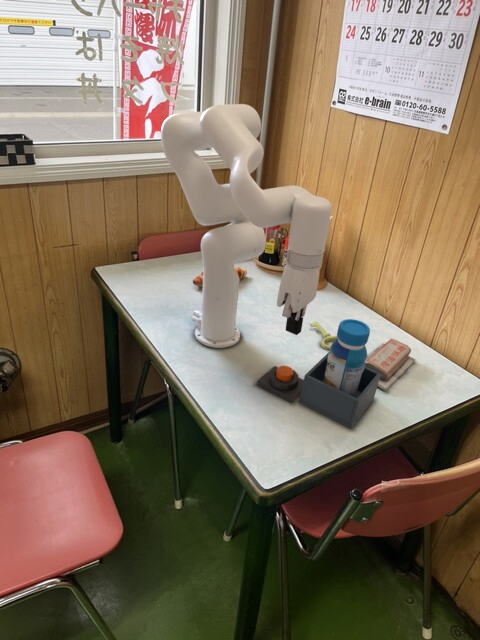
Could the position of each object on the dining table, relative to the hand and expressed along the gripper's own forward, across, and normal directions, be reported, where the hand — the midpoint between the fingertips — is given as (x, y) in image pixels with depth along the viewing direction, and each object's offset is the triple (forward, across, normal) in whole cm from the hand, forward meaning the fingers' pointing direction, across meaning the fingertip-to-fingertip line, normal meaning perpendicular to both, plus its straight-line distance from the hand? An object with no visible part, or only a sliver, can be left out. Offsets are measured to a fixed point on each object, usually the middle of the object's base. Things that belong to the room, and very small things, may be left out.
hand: (293, 331), depth 109 cm
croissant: (+16, -33, -45) cm, 58 cm away
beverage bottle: (+15, -4, +12) cm, 20 cm away
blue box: (+16, -4, +12) cm, 21 cm away
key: (+16, -27, -2) cm, 31 cm away
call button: (+13, 0, -1) cm, 13 cm away
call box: (+16, 0, -1) cm, 16 cm away
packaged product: (+16, -25, +16) cm, 34 cm away
